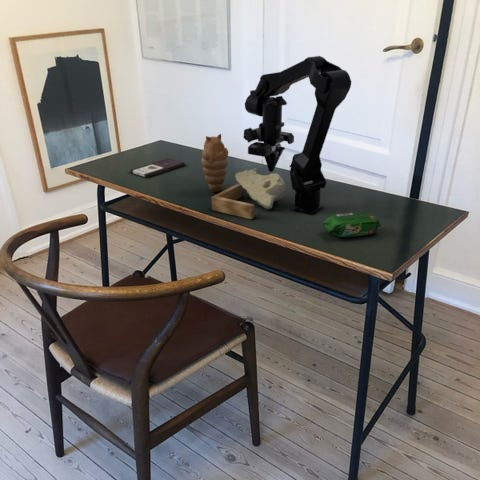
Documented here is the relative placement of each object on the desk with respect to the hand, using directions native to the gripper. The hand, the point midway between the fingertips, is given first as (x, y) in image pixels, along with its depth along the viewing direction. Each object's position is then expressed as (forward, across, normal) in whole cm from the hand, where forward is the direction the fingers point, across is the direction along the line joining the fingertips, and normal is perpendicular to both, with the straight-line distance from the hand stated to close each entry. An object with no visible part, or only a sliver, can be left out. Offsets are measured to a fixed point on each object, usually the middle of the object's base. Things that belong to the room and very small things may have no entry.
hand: (271, 171), depth 165 cm
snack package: (+7, +17, +34) cm, 39 cm away
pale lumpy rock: (+7, +10, +1) cm, 12 cm away
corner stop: (+7, +15, 0) cm, 16 cm away
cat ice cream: (+7, +9, -15) cm, 19 cm away
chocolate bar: (+7, -1, -47) cm, 48 cm away
